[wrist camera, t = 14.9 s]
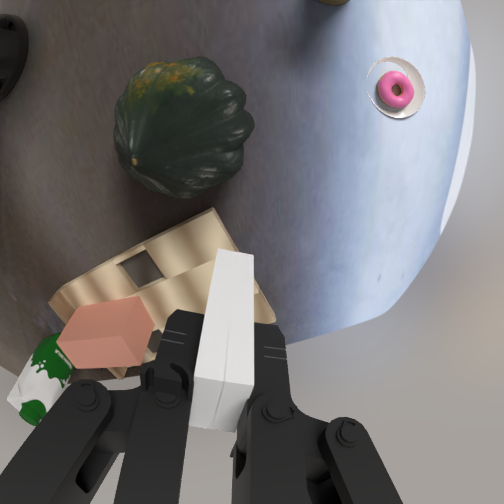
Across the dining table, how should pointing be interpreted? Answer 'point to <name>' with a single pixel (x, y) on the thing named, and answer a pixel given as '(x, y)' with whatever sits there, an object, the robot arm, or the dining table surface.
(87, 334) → the brick
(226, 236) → the board
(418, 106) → the donut
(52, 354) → the milk carton
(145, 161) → the squash
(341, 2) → the cork
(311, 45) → the dining table surface
